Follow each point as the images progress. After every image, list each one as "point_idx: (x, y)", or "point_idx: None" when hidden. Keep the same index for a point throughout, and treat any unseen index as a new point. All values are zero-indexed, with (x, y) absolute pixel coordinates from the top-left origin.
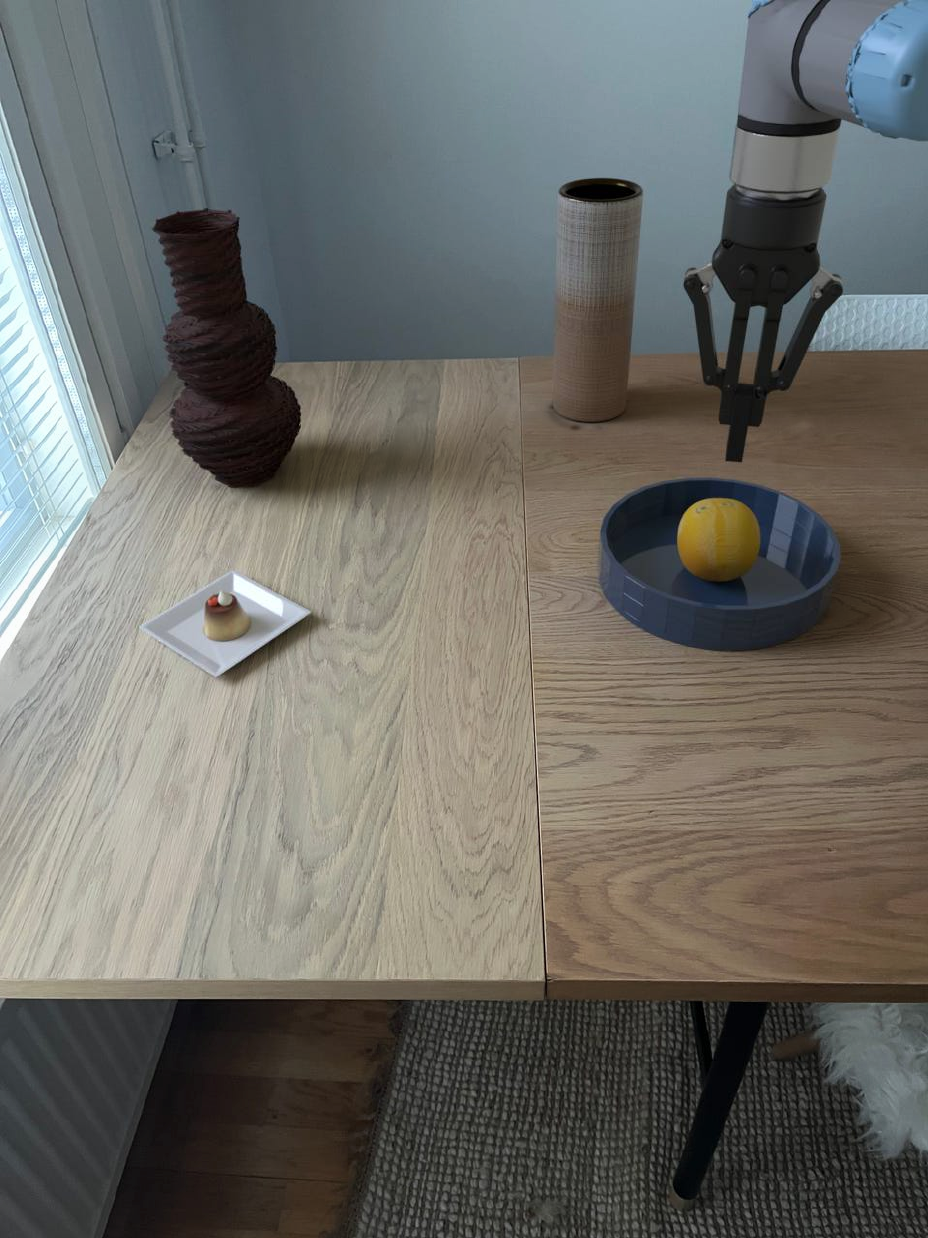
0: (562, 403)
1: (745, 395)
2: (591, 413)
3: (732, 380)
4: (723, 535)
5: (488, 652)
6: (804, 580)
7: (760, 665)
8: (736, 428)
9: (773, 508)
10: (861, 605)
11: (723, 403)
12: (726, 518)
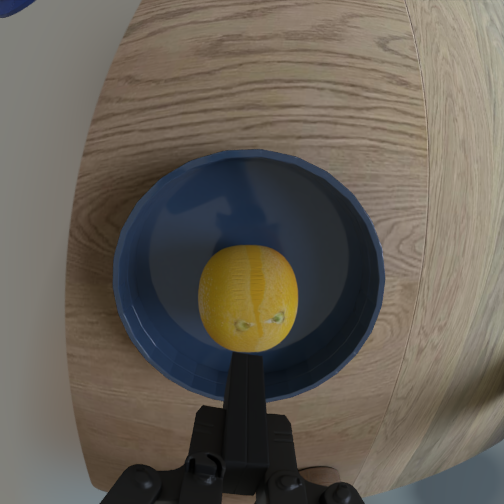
0: (337, 476)
1: (242, 466)
2: (316, 472)
3: (285, 499)
4: (252, 270)
5: (455, 168)
6: (154, 265)
7: (220, 133)
8: (252, 401)
9: (175, 364)
10: (109, 234)
11: (288, 451)
12: (247, 294)
